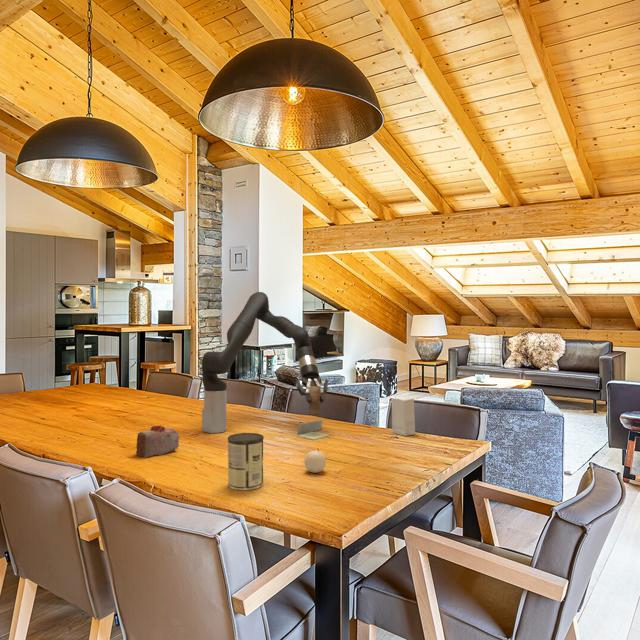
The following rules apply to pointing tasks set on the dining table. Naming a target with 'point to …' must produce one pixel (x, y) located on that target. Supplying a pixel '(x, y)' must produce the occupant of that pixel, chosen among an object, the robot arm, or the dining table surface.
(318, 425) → the wall
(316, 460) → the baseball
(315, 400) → the pin
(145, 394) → the dining table surface
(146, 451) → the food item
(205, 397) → the robot arm
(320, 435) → the mat
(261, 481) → the coffee can
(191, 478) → the dining table surface
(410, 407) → the skincare box
